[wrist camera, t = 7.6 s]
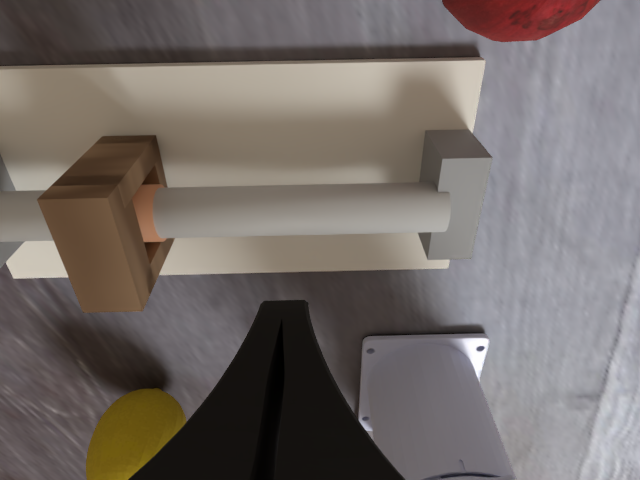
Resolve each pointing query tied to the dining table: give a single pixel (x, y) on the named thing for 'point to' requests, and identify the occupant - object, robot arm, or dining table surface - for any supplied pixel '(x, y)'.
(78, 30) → the dining table surface
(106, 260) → the collar
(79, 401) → the dining table surface
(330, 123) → the rail
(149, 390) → the lemon
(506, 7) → the red pomegranate
